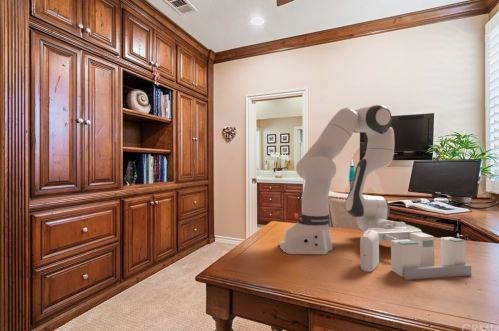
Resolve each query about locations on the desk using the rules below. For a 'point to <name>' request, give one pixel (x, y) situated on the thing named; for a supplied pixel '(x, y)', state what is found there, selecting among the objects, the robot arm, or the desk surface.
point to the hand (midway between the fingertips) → (408, 240)
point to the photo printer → (369, 250)
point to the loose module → (424, 248)
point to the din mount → (408, 266)
